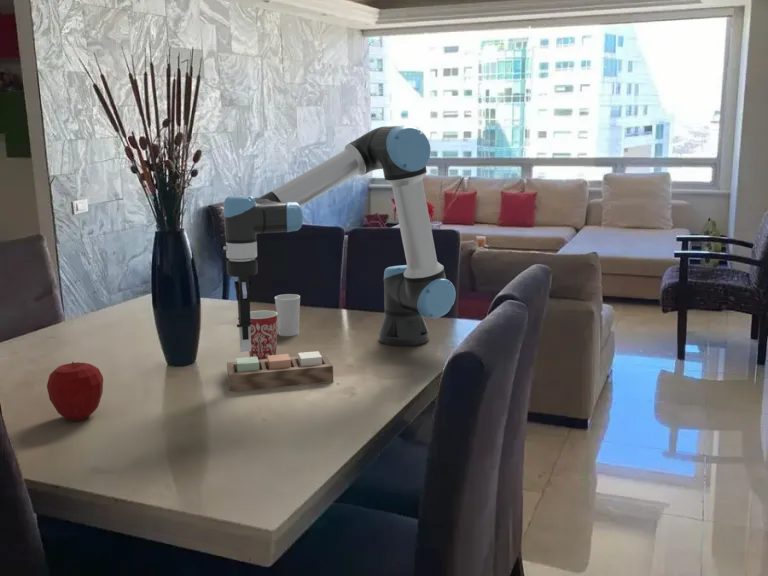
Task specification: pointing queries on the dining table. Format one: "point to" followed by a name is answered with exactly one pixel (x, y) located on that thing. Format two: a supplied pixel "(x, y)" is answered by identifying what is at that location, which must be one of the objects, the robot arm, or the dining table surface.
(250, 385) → the wooden compartment tray
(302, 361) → the key ivory
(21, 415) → the dining table surface
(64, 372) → the apple
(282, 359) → the key terracotta
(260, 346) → the mug
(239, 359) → the key sage
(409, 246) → the robot arm
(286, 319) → the cup
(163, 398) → the dining table surface
